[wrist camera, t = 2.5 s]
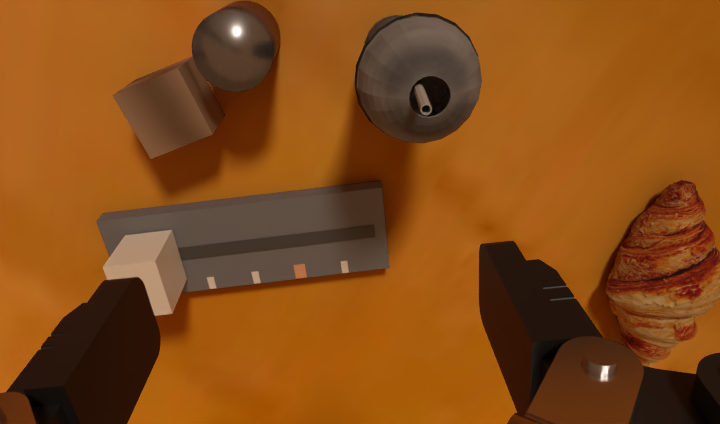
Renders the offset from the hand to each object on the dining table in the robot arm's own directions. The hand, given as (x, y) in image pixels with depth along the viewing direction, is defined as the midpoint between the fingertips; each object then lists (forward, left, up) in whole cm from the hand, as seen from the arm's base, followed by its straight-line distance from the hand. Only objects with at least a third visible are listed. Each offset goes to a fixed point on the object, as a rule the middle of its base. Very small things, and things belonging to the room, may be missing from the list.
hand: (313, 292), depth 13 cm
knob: (-16, -15, -30) cm, 37 cm away
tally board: (-8, -15, -31) cm, 36 cm away
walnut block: (-11, -2, -31) cm, 33 cm away
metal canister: (-5, +2, -31) cm, 32 cm away
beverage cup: (+6, 0, -32) cm, 32 cm away
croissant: (+29, -24, -32) cm, 49 cm away
